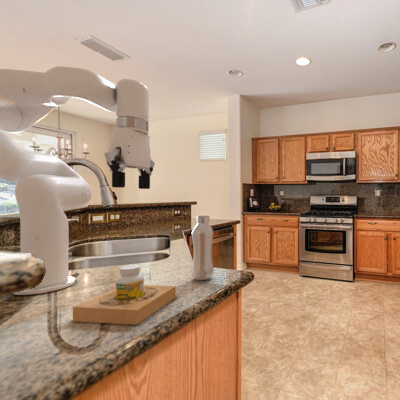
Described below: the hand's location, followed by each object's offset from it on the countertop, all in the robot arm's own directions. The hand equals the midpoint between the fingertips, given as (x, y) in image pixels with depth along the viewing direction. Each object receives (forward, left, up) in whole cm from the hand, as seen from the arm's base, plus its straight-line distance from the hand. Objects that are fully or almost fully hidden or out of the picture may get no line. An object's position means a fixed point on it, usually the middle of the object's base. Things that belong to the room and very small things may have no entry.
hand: (132, 188), depth 71 cm
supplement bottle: (+9, -12, -28) cm, 32 cm away
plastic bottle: (+16, +10, -28) cm, 34 cm away
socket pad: (+9, -12, -28) cm, 32 cm away
